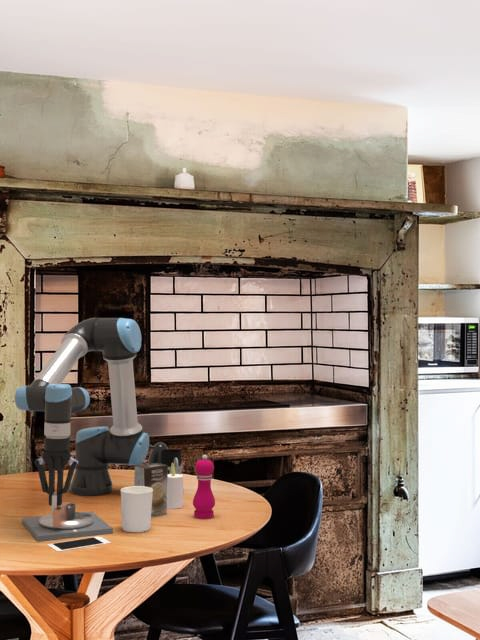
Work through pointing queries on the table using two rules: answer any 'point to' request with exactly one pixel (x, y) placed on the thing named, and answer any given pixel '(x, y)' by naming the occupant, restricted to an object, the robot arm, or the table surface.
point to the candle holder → (136, 508)
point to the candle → (174, 490)
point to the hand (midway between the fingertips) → (54, 516)
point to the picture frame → (172, 459)
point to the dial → (66, 518)
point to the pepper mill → (204, 489)
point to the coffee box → (154, 484)
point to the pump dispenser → (156, 452)
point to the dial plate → (53, 534)
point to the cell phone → (78, 543)
